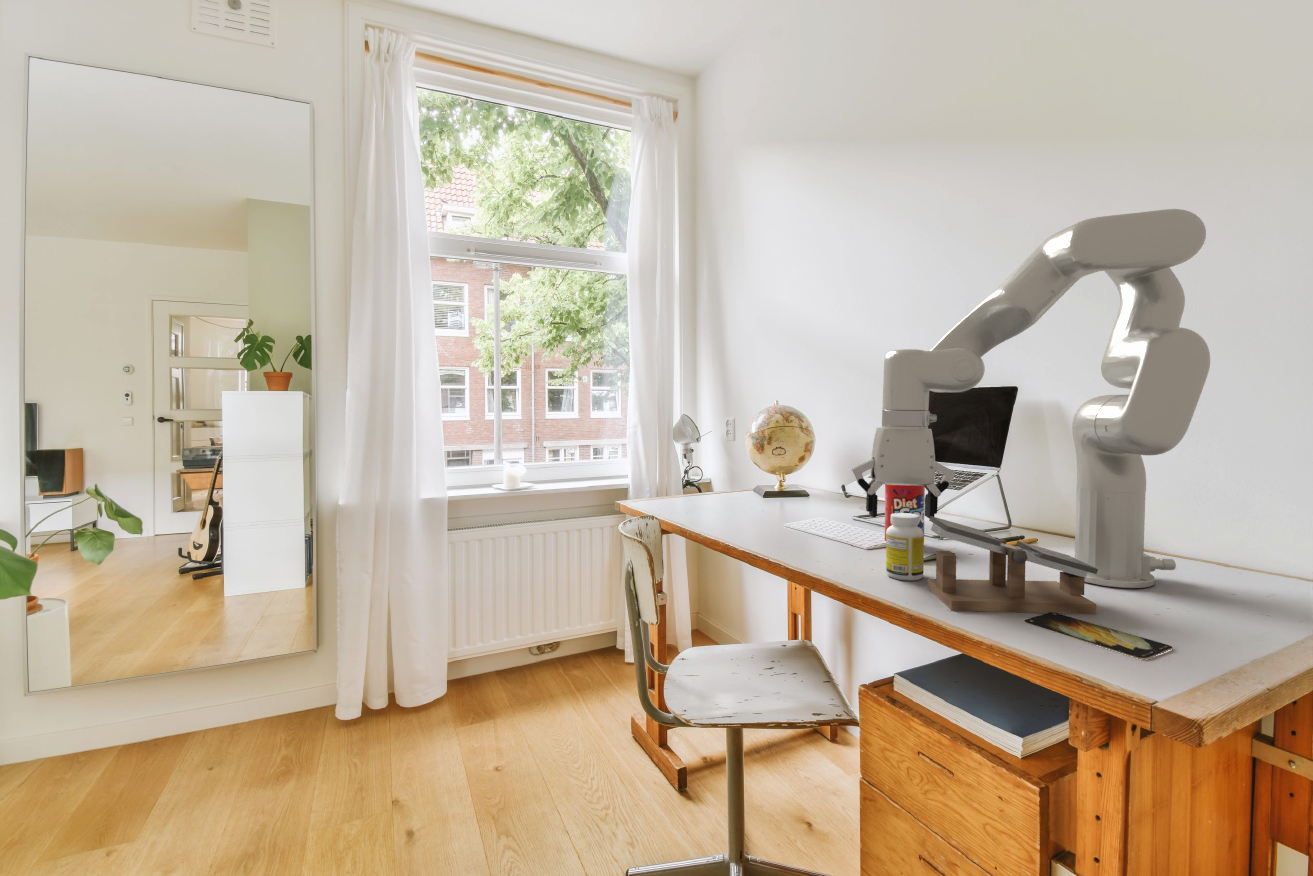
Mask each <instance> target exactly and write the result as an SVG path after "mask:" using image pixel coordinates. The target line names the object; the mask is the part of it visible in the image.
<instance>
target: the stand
mask: <svg viewBox="0 0 1313 876" xmlns="http://www.w3.org/2000/svg"><path fill="white" fill-rule="evenodd" d="M993 537H994V538H996V539H998V540H1000V541H1002V542H1001V543H1005V544H1007V541H1006V540H1005V539H1000V538H999V537H997V536H996V537H995V536H993ZM935 554H936V556H935V557H936V558H935V560H936V561H935V578H927V588H928V589H929V591H931V592H932V593H933V594H934V595H935V596H936V597H937V598H938V599H939V600H940V602H942V603H943V604H944V605H945V606H946V607H947V608H949V610H950V611H954V612H955V611H956V612H957V611H958V612H995V613H996V612H999V613H1002V612H1003V613H1033V614H1034V613H1035V614H1036V613H1039V614H1041V613H1043V614H1046V613H1050V612H1053V613H1058V614H1078V615H1079V614H1081V615H1083V614H1084V615H1096V614H1097V602H1096V603H1095V602H1094V601H1091V600H1090V599H1088V598H1086V597H1085V583H1086V582H1085V578H1084V577H1081V576H1077V575H1074V574H1070V573H1067V572H1063V571H1059V582H1058V581H1056V580H1026V562H1027V561H1026V560H1027V554H1026V551H1024V550H1022V549H1008V555H1005V554H1001V553H998V552H994V551H991V550H989V576H988V577H989V578H988V579H965V578H964V579H961V578H959V579H957V555H956V554H955V553H953V552H952V551H951V550H936V553H935Z"/></svg>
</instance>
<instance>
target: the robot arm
mask: <svg viewBox="0 0 1313 876" xmlns="http://www.w3.org/2000/svg"><path fill="white" fill-rule="evenodd" d="M1206 236H1207V230H1206V225H1205V223H1204V222H1203V220H1202V219H1201V218H1200V217H1199V216H1198V215H1197V214H1195V213H1194V212H1192V211H1189V210H1187V209H1179V208H1167V209H1159V210H1158V209H1157V210H1149V211H1141V212H1140V211H1139V212H1131V213H1123V214H1114V215H1113V214H1112V215H1103V216H1098V217H1097V216H1096V217H1092V218H1091V217H1090V218H1085V219H1083V220H1081V221H1078V222H1077V223H1073V224H1072V225H1070V226H1067V227H1065V228H1063V229H1061V230H1059V231H1057V232H1055V233H1053V234H1052V235H1050V236H1049V237H1048V238H1046V239H1044V241H1043V242H1041V244H1039V245H1038V246H1037V248H1035V250H1034V251H1033V252H1031V254H1029V255H1028V257H1027V258H1026V259H1024V261H1022V262H1021V264H1020V265H1019V266H1018V267H1017V268H1016V269H1015V270H1014V271H1013V272H1012V273H1011V274H1010V275H1009V276H1008V277H1007V278H1006V279H1005V280H1004V281H1003V282H1002V283H1001V284H1000V285H999V286H998V287H997V288H996V289H994V291H993V292H991V294H990V295H989V296H987V297H986V299H984V300H983V301H981V302H980V303H979V304H978V305H977V306H976V307H975V308H974V309H973V310H971V312H970V313H969V314H967V315H966V316H965V317H963V319H961V320H960V321H959V322H958V323H957V324H955V326H953V327H951V329H950V330H949V331H948V332H947V333H946V334H945V335H944V336H943V337H942V338H941V339H940V340H939V341H937V343H936V344H935V345H934V346H933V347H932V348H931V349H930V350H923V349H915V348H914V349H913V348H912V349H911V348H910V349H908V348H907V349H903V348H902V349H894V350H890V351H888V352H887V353H886V354H885V356H884V360H883V380H882V381H883V384H882V385H883V386H882V408H881V409H882V410H881V427H876V428H875V429H876V430H875V434H874V438H873V443H872V452H871V459H869V460H867V461H865V462H862V463H861V464H858V465H857V466H855V467H852V468H851V473H852V475H853V477H854V479H855V481H856V484H857V485H859V486H860V487H861V489H863V491H864V492H865V493H866V499H865V500H866V502H865V504H866V506H865V510H866V512H868V515H869V516H871V518H876V517H878V495H877V493H876V492H877V491H878V490H879V489H880V488H881V487H882V485H885V484H886V485H916V486H924V487H925V489H926V491H927V493H926V494H925V510H924V517H926V518H927V519H930V516H933V517H935V515H936V514H938V502H939V497H940V496H941V495H942V493H944V491H945V490H947V489H948V488H949V487H950V484H951V482H952V481H953V480H954V477H955V476H956V472H955V471H954V470H952V469H951V468H948V467H946V466H945V465H943V464H941V463H939V462H937V461H936V454H935V444H934V436H933V431H932V428H929V426H930V424H931V423H936V422H937V420H938V416H937V414H932V413H931V412H930V410H929V404H930V392H934V393H962V392H966V391H969V390H971V389H973V388H974V387H976V386H977V385H978V384H979V383H980V382H981V381H982V379H983V377H984V375H985V371H986V370H985V369H986V366H985V362H984V360H983V358H982V357H983V356H984V355H985V354H987V353H988V352H989V351H991V350H993V349H994V348H995V347H998V345H1000V344H1002V343H1004V342H1005V341H1009V340H1010V339H1012V338H1014V337H1016V336H1018V335H1020V334H1021V333H1023V332H1024V331H1026V330H1028V329H1030V328H1031V327H1032V326H1033V325H1034V324H1036V323H1037V322H1038V321H1039V320H1040V319H1041V318H1042V317H1043V316H1044V315H1045V314H1046V313H1047V312H1048V311H1049V310H1050V309H1051V308H1052V307H1053V306H1054V305H1055V304H1056V303H1057V302H1058V301H1059V300H1060V299H1061V298H1062V297H1063V296H1064V295H1065V294H1067V293H1066V292H1068V291H1069V290H1070V289H1071V288H1072V287H1073V286H1074V285H1075V284H1076V283H1077V282H1078V281H1079V280H1080V279H1082V278H1083V277H1086V276H1088V275H1092V274H1095V273H1098V272H1104V273H1105V274H1106V275H1107V276H1108V277H1109V278H1110V280H1111V281H1112V282H1113V284H1114V285H1115V287H1116V289H1117V291H1118V294H1119V308H1118V312H1117V316H1116V320H1115V322H1114V325H1113V328H1112V331H1111V333H1110V337H1109V338H1108V342H1107V346H1106V347H1105V351H1104V353H1103V355H1102V359H1101V364H1100V370H1101V375H1102V377H1103V379H1104V381H1106V382H1107V383H1108V384H1109V385H1111V386H1114V387H1116V388H1120V389H1128V390H1129V392H1128V394H1106V395H1100V396H1096V397H1093V398H1091V399H1088V400H1087V401H1086V402H1084V403H1082V404H1081V405H1080V406H1079V408H1078V409H1077V410H1076V412H1075V413H1074V415H1073V420H1072V424H1071V426H1072V427H1071V428H1072V429H1071V431H1072V438H1073V442H1074V448H1075V449H1074V450H1075V454H1076V491H1075V492H1076V494H1075V496H1076V499H1075V527H1074V529H1075V531H1074V539H1075V540H1074V558H1075V559H1077V560H1080V561H1082V562H1084V563H1086V564H1088V565H1090V566H1092V567H1094V568H1097V569H1098V571H1097V574H1093V573H1090V572H1088V573H1087V576H1086V578H1085V583H1088V584H1093V585H1098V586H1103V587H1111V588H1119V589H1121V588H1122V589H1145V588H1149V587H1152V586H1154V585H1155V583H1156V581H1155V580H1156V579H1155V575H1153V574H1151V572H1153V573H1154V572H1155V571H1156V570H1161V571H1175V570H1176V567H1177V563H1176V561H1175V560H1174V559H1173V558H1157V557H1156V556H1151V555H1148V554H1146V553H1144V550H1145V549H1144V548H1145V520H1146V518H1145V517H1146V491H1147V473H1146V467H1145V464H1144V461H1143V457H1142V456H1158V455H1163V454H1165V453H1167V452H1170V451H1171V450H1172V449H1174V448H1176V446H1178V445H1179V443H1181V441H1182V439H1184V437H1185V435H1186V433H1187V431H1188V430H1189V427H1190V425H1191V422H1192V419H1193V416H1194V414H1195V411H1196V408H1197V405H1198V403H1199V401H1200V397H1201V394H1202V393H1203V389H1204V387H1205V384H1206V381H1207V378H1208V374H1209V371H1210V366H1211V354H1210V349H1209V346H1208V343H1207V342H1206V340H1205V339H1204V338H1203V337H1202V336H1201V335H1200V334H1199V333H1197V332H1196V331H1195V330H1192V329H1189V328H1185V327H1180V324H1181V321H1182V317H1183V314H1184V310H1185V305H1186V304H1185V303H1186V299H1185V297H1186V296H1185V291H1184V288H1183V286H1182V284H1181V282H1180V281H1179V279H1178V277H1177V276H1176V274H1175V273H1174V272H1173V270H1172V267H1175V266H1178V265H1181V264H1183V263H1185V262H1187V261H1189V260H1191V259H1192V258H1194V257H1195V255H1197V254H1198V253H1199V251H1201V249H1202V247H1203V245H1204V244H1205V241H1206ZM868 470H870V478H871V480H870V481H869V482H867V481H866V480H865V478H864V476H863V473H864V472H867V471H868ZM936 471H937V472H939V473H941V474H942V477H941V480H939V481H938V482H937V483H936V484H935V483H934V482H935V479H936Z"/></svg>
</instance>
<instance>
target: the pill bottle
mask: <svg viewBox="0 0 1313 876" xmlns="http://www.w3.org/2000/svg"><path fill="white" fill-rule="evenodd" d="M891 523H892V526H890V527H889V528H888V529H887V531H886V542H885V545H886V546H885V549H886V552H885V555H886V556H885V557H886V559H885V560H886V562H885V563H886V564H885V566H886V567H885V569H886V574H887V576H888V577H890V578H892V579H895V580H899V581H918V580H921V579H922V578H923V577H924V562H925V561H924V559H925V558H924V557H925V556H924V554H925V553H924V552H925V551H924V548H925V547H924V543H925V534H924V535H923V531H922V530H921V529H920V528H919V527H918V526H917V525H918V524H919V516H918V515H916V514H911V513H894V514H891Z"/></svg>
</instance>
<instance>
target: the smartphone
mask: <svg viewBox="0 0 1313 876" xmlns="http://www.w3.org/2000/svg"><path fill="white" fill-rule="evenodd" d="M1023 621H1024V623H1026V624H1028V625H1031V626H1035V627H1038V628H1041V629H1044V630H1048V631H1051V632H1053V633H1057V634H1060V635H1062V636H1066V637H1067V638H1068V637H1069V638H1072V639H1073V640H1077V641H1081V642H1083V643H1086V642H1088V643H1087V644H1090V643H1091V644H1090V645H1093V644H1094V646H1096V645H1098V646H1097V647H1099V646H1101V647H1100V648H1102V647H1103V648H1102V649H1105V648H1107V649H1106V650H1108V649H1110V650H1109V651H1111V650H1114V651H1117V652H1120V653H1123V654H1122V655H1124V654H1126V655H1125V656H1127V655H1128V656H1127V657H1130V656H1133V657H1134V658H1133V657H1132V658H1133V659H1136V658H1138V659H1137V660H1139V659H1142V660H1141V661H1147V660H1146V659H1150V658H1152V659H1154V658H1153V657H1154V656H1156V655H1158V654H1161V653H1164V652H1166V651H1168V650H1171V649H1173V648H1174V647H1173V646H1172V645H1170V644H1167V643H1163V642H1160V641H1156V640H1152V639H1149V638H1145V637H1142V636H1139V635H1135V634H1133V633H1128V632H1124V631H1121V630H1118V629H1114V628H1110V627H1108V626H1107V627H1106V626H1103V625H1099V624H1096V623H1093V622H1089V621H1086V620H1082V619H1079V618H1075V617H1072V616H1069V615H1065V614H1063V613H1053V612H1050V613H1043V614H1040V615H1035V616H1033V617H1029V618H1026V619H1024V620H1023ZM1173 650H1174V649H1173ZM1114 651H1113V652H1114ZM1117 652H1116V653H1117ZM1120 653H1119V654H1120ZM1150 660H1151V659H1150Z"/></svg>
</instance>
